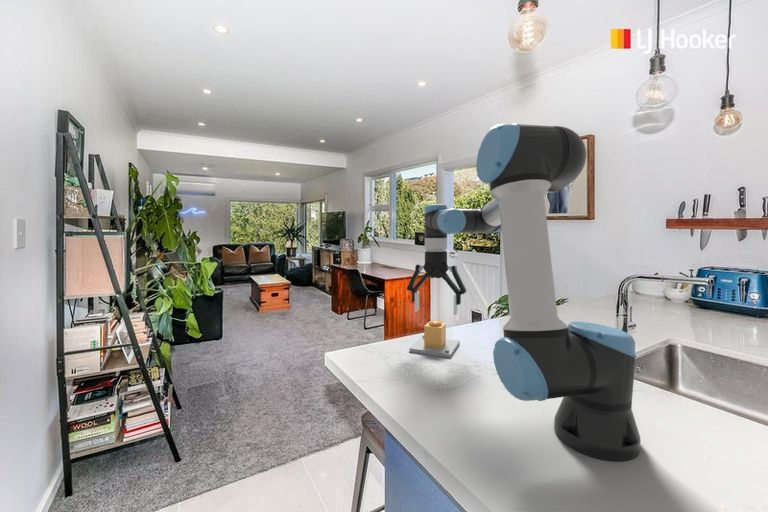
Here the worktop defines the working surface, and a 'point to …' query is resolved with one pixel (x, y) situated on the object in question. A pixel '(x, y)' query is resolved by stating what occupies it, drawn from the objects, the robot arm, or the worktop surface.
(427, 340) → the single stud toy brick
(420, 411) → the worktop surface
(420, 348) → the plate
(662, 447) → the worktop surface
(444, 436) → the worktop surface
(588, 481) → the worktop surface
